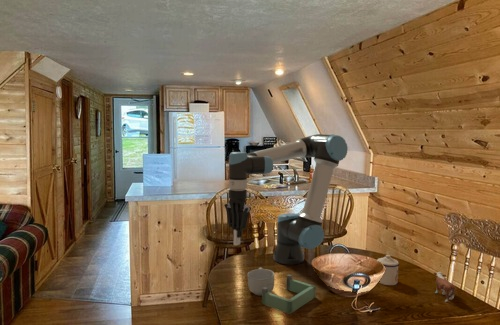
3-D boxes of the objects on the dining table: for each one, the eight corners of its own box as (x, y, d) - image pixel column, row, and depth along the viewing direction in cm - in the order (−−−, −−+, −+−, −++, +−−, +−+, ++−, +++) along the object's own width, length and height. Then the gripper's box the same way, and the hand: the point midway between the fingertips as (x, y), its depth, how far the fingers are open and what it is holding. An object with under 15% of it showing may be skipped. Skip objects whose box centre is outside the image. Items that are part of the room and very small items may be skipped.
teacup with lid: (400, 286, 162) (401, 259, 161) (378, 285, 163) (379, 258, 162) (393, 275, 174) (395, 250, 173) (372, 274, 175) (374, 249, 174)
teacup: (272, 299, 149) (272, 279, 148) (244, 296, 151) (244, 277, 150) (276, 285, 162) (277, 266, 161) (251, 282, 164) (251, 264, 164)
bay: (288, 288, 159) (288, 274, 158) (315, 297, 151) (315, 282, 150) (261, 303, 145) (262, 288, 144) (289, 314, 137) (290, 298, 137)
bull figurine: (441, 289, 160) (442, 270, 159) (456, 304, 146) (457, 283, 146) (430, 288, 160) (431, 269, 159) (444, 303, 147) (446, 283, 146)
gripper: (220, 188, 162) (219, 243, 164) (243, 192, 154) (242, 249, 156) (232, 186, 168) (231, 239, 170) (255, 189, 160) (254, 245, 162)
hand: (236, 244), depth 163 cm, fingers closed
